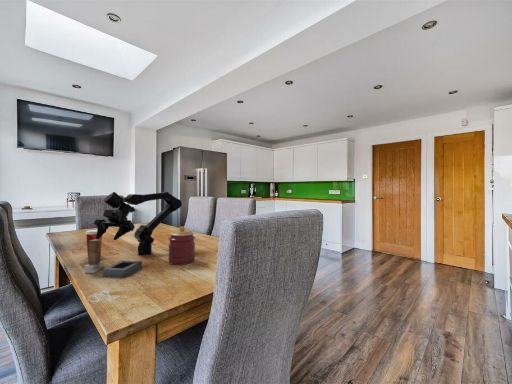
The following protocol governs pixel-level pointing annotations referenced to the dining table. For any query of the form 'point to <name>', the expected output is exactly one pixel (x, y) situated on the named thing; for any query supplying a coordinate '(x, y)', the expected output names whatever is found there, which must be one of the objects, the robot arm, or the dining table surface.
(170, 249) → the canister
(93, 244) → the slot cleaner tool
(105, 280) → the dining table surface
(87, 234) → the paper cup
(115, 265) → the holder block
